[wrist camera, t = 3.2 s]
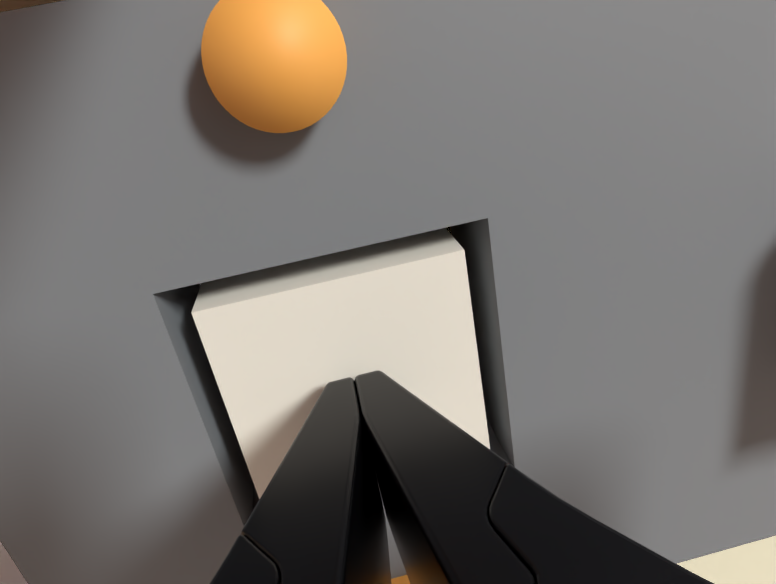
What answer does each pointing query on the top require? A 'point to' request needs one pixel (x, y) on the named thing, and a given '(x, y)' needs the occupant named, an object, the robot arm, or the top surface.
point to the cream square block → (341, 337)
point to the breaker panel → (378, 224)
